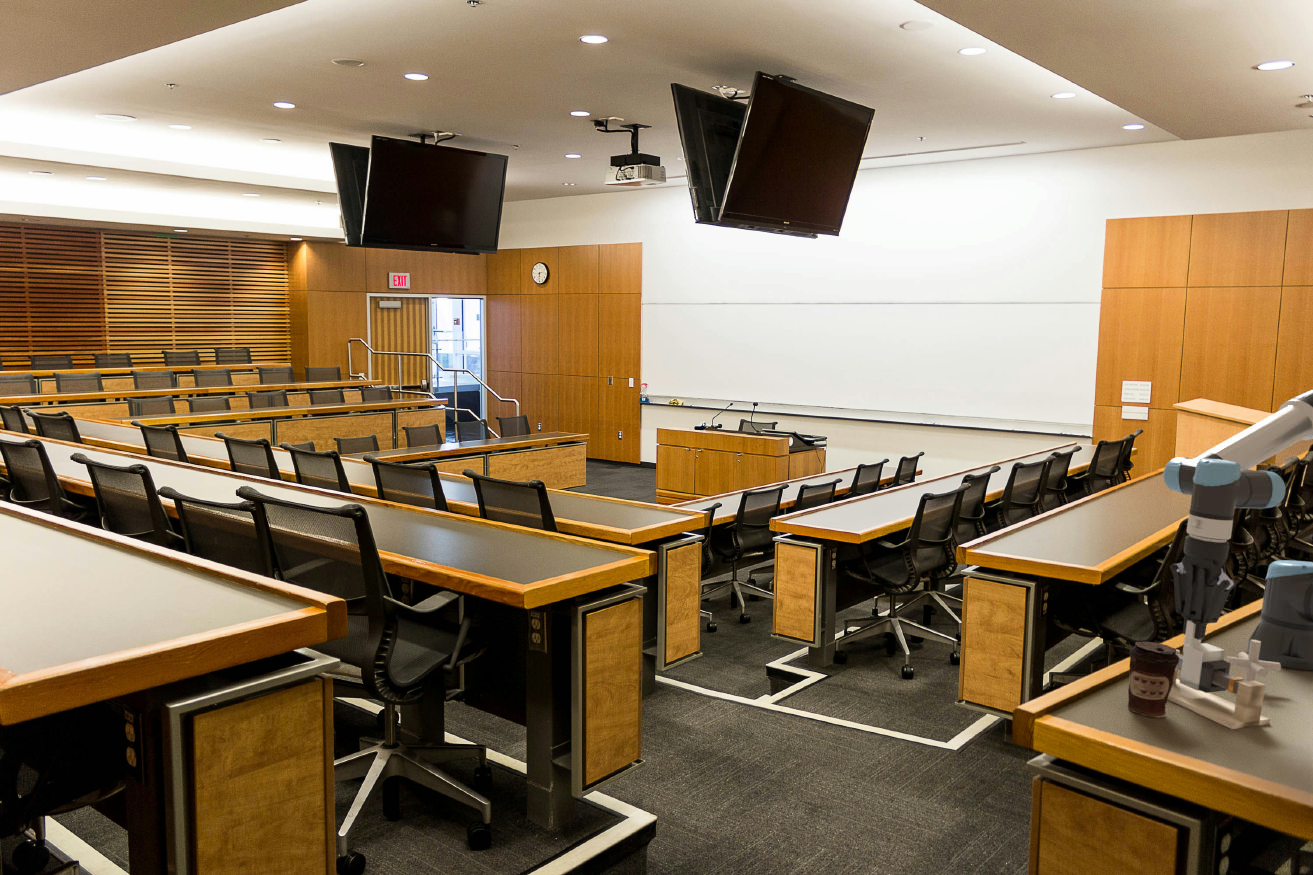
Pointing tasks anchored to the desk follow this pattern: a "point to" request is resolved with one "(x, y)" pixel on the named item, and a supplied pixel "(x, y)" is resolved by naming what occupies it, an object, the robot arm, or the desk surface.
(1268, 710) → the desk surface
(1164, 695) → the coffee cup
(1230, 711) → the pipe rig
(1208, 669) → the dark grey block
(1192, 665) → the sleeve
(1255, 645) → the pipe connector
